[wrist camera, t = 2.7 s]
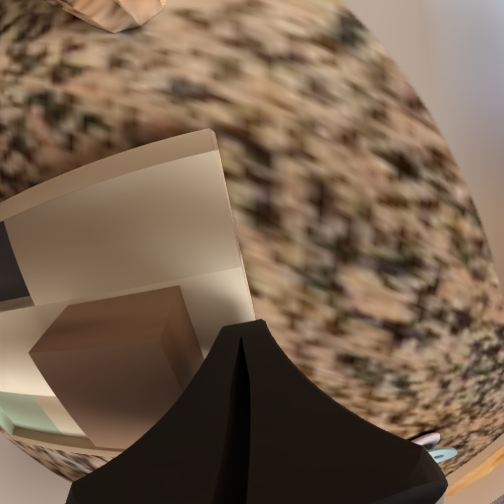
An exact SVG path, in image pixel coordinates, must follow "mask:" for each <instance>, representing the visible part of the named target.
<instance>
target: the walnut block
mask: <svg viewBox="0 0 504 504" xmlns="http://www.w3.org/2000/svg"><path fill="white" fill-rule="evenodd" d="M28 353H29V355H30V357H31V358H32V360H33V362H34V363H35V365H36V367H37V368H38V370H39V371H40V373H41V375H42V376H43V378H44V379H45V381H46V382H47V384H48V385H49V387H50V388H51V390H52V391H53V393H54V394H55V395H56V397H57V398H58V400H59V401H60V402H61V404H62V405H63V407H64V408H65V409H66V411H67V412H68V413H69V415H70V416H71V417H72V418H73V420H74V421H75V422H76V423H77V425H78V426H79V427H80V428H81V430H82V431H83V432H84V433H85V434H86V436H87V437H88V438H89V439H90V440H91V441H92V443H93V444H94V445H95V446H96V447H105V448H119V449H127V448H129V447H130V446H131V445H132V444H134V443H135V442H136V441H137V440H138V439H140V438H141V437H142V436H143V435H144V434H145V433H146V432H147V431H148V430H149V429H150V428H151V427H152V426H154V425H155V424H156V423H157V422H158V421H159V420H160V419H161V418H162V417H163V416H164V415H165V414H166V412H167V411H168V410H169V409H170V408H171V407H172V405H173V404H174V403H175V402H176V401H177V399H178V398H179V397H180V396H181V394H182V393H183V392H184V390H185V389H186V387H187V386H188V384H189V383H190V382H191V380H192V379H193V377H194V376H195V374H196V373H197V371H198V370H199V368H200V366H201V365H202V363H203V361H204V360H205V359H204V356H203V353H202V351H201V348H200V345H199V342H198V340H197V337H196V334H195V331H194V328H193V325H192V323H191V320H190V317H189V314H188V311H187V308H186V305H185V302H184V299H183V296H182V293H181V290H180V286H179V285H178V286H172V287H167V288H162V289H156V290H151V291H145V292H140V293H135V294H129V295H124V296H118V297H112V298H107V299H101V300H96V301H90V302H84V303H78V304H72V305H68V306H67V307H66V308H65V309H64V310H63V312H62V313H61V314H60V315H59V316H58V317H57V318H56V320H55V321H54V322H53V323H52V324H51V325H50V327H49V328H48V329H47V330H46V331H45V333H44V334H43V335H42V336H41V337H40V339H39V340H38V341H37V342H36V344H35V345H34V346H33V347H32V349H31V350H30V351H29V352H28Z"/></svg>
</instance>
